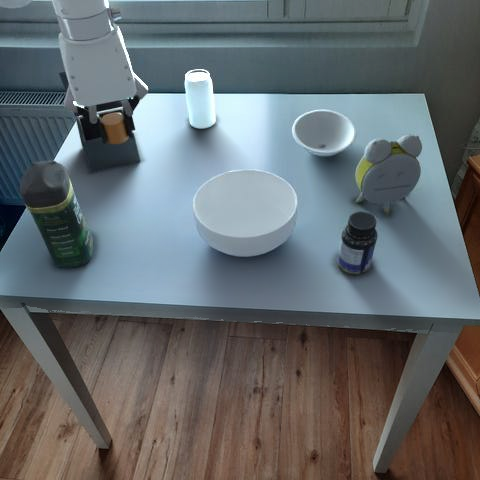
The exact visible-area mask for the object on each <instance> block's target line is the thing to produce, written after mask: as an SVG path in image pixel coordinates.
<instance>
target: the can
mask: <svg viewBox="0 0 480 480" xmlns="http://www.w3.org/2000/svg"><path fill="white" fill-rule="evenodd" d="M184 88H185V90H184V91H185V96H186V105H187V111H188V119H189V123H190V126H191V127H193V128H194V129H208V128H211V127H212V126H214V124H215V123H216V113H215V102H214V89H213V81H212V78H211V77H210V73H209V71H208V70H205V69H193V70H189V71H188V72H187V73H186V74H185V80H184Z"/></svg>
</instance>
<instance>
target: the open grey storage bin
mask: <svg viewBox="0 0 480 480" xmlns="http://www.w3.org/2000/svg"><path fill="white" fill-rule="evenodd" d="M122 111H123V107H120V108H115V109H110V110H105V111H100V112H97V113H98V115H100V118H102V117H103V116H105V115H107V114H109V113H120V114H122V115H123V113H122ZM75 122H76V126H77V130H78V131H77V132H78V136H79V140H80V144H81V147H82V150H83V153H84V156H85V158H86V162H87V165H88V167H89V169H90V173H95V172H100V171H104V170H108V169H113V168H116V167H122V166H126V165H131V164H134V163H139V162H141V156H140V153H139V149H138V144H137V139H136V136H135V132H134V131H132V134H133V138H128V139H127V140H126V141H125V142H123V143H120V144H111V143H109V142H107V143H106V144H103V141H102V137H101V138H97V135H96V131H95V128H94V125H93V123H91V122H90V120H88V119H86V118H85V117H83V116H77V117H75Z"/></svg>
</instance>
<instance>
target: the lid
mask: <svg viewBox="0 0 480 480" xmlns="http://www.w3.org/2000/svg"><path fill="white" fill-rule="evenodd" d="M58 75H59V77H60V80H61V83H62V86H63V88H64V92H65V94H66V93H67V89H68V86H69V82H68V78H67V75H66V71H62V72H61V71H60V72H58ZM74 101H75V100H74ZM87 107H88V106H87ZM118 108H123V106H122V104H121V102H120V100H118V101H113V102H108V103H103V104H98V105H96V110H97V113H99V112H104V111H109V110H114V109H118ZM73 116H74V117H75V118H76V117H80V116H81V115H80V114H79V113H75V112H73Z"/></svg>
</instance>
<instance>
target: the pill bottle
mask: <svg viewBox="0 0 480 480" xmlns="http://www.w3.org/2000/svg"><path fill="white" fill-rule="evenodd" d="M376 228H377V218H376V217H375V215H374V214H373V213H371V212H368V211H365V210H364V211H363V210H359V211H354V212H352V213H351V214H350V215H349V216H348V219H347V224H346V225H345V226H344V227H343V228H342V231H341V235H340V242H339V247H338V253H337V260H336V265H337V267H338V269H339V270H340V271H341V272H343V273H344V274H346V275H350V276H361V275H363V274H365V273H366V272H367V273H368V271H369V269H370V267H371V265H372V260H373V256H374V253H375V248H376V244H377V241H378V237H379V236H378V230H377V229H376Z"/></svg>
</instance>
